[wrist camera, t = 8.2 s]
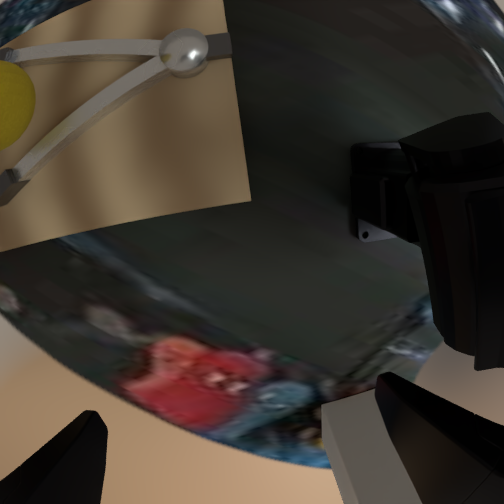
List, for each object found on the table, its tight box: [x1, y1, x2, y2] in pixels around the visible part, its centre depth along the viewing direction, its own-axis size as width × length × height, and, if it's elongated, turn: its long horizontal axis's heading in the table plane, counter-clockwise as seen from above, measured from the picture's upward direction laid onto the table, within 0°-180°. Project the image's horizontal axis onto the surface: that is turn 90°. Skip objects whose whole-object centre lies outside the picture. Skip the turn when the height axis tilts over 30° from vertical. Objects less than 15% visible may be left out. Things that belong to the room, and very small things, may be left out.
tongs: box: [0, 28, 233, 207], centre depth 13 cm, size 17×12×2 cm
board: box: [0, 0, 251, 252], centre depth 15 cm, size 20×16×1 cm
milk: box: [321, 389, 422, 504], centre depth 14 cm, size 6×6×22 cm
